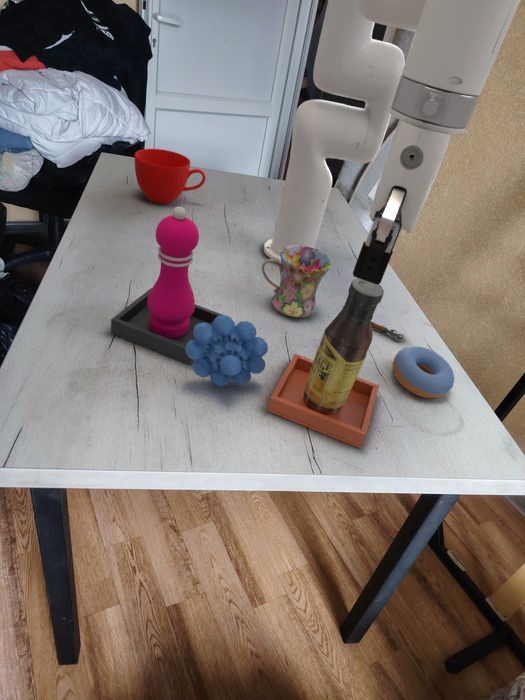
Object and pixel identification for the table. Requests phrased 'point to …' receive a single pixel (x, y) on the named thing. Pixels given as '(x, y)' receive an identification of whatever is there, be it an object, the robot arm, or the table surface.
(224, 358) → the blue knobbed flower
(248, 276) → the table surface
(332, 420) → the terracotta tray
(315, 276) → the mug
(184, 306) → the pepper mill
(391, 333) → the can opener
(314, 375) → the sauce bottle
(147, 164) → the ceramic cup
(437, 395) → the doughnut
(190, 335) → the charcoal tray
